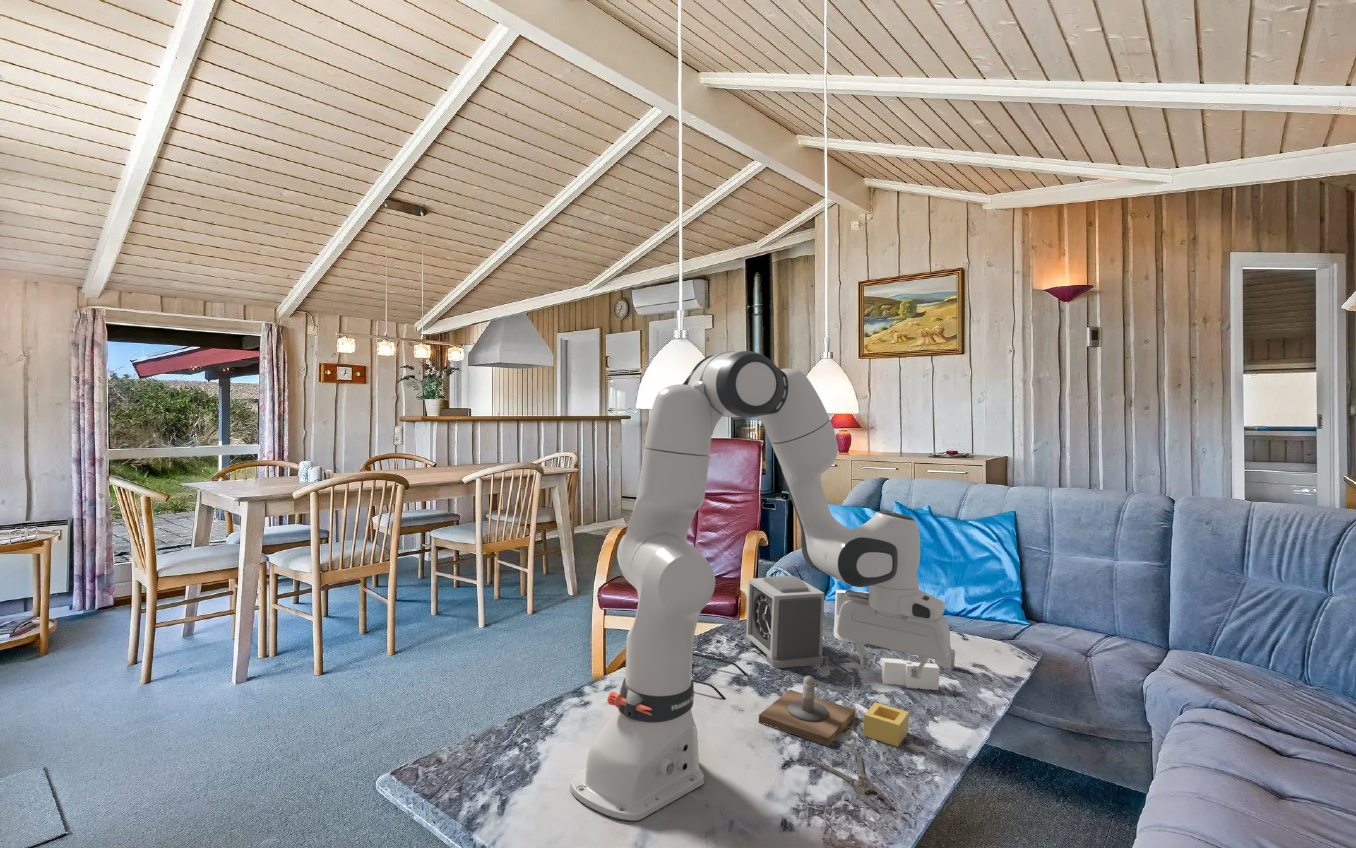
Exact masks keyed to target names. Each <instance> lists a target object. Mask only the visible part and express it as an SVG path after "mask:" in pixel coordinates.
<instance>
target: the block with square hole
mask: <svg viewBox="0 0 1356 848" xmlns="http://www.w3.org/2000/svg"><path fill="white" fill-rule="evenodd" d="M909 714H910V712H909V711H905V710H903V709H900V708H897V707H894V706H891V705H886V704H883V703H879V702H874V703H873V704H872V705H871V706H870V707H869V709H868V710H867V711H866V712H865V713H864V714H863V715H864V717H863V732H862V733H863V734H862V735H863V737H866V738H870V739H873V740H875V741H879V742H881V743H885V744H888V745H891V746H894V747H897V748H899V746H900V745H901V743H902V742H903V740H904V739H905V737H906V736H907V734H908V733H909V731H908V730H909V719H910V718H909V716H910V715H909Z"/></svg>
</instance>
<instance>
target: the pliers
mask: <svg viewBox="0 0 1356 848" xmlns="http://www.w3.org/2000/svg"><path fill="white" fill-rule="evenodd" d="M843 744H844V746H846V747H847V748H849V749H850V750H851V751H852V752H853V754H854V755H855V757H856V759H857V777H858V779H855V778H853V777H850V776H848V775H847V774H845V773H843V772H840V771H839V770H837V769H834V768H832V767H830V766H828V765H826V764H824V763H822V762H820V761H819V760H817V759H816V758H814V757H813V755H811V754H810V752H809V751H808V749H807V748H806V746H802V751H803V753H804V754H805V756H806V757H807V759H809V760H810V761H811V762H812V763H814V764H815V765H816V766H818V767H819V768H821V769H823V770H825V771H827V772H829V773H831V774H833V775H835V776H836V777H838V778H839V779H840V778H841V779H842V780H843V781H845V782H846V783H848V785H850V786H851V788H852V789H853V790H854V792H855V793H856V795H857V797H858V798H859V800H860V801H861V802H862V803H863V804H865V805H866V806H867V807H869V809H871V810H872V811H874V813H878V808H877V806H876V804H875V802H873V801H872V798H871V796H870V795H867V794H871V795H875V796H876V799H877V800H878V801H880V802H881V803H883V804H884V805H885V806H886V807H887V808H888V809H890V810H891V811H893V810H894V805H893V804H892V802H891V801H890V800H889V798H888V797H887V796H886V795H885V793H884V792H882V791H881V790H880V789H879V788H878V787H877V786H876V785H875V784H873V783H872V782H871V780H870V779H869V778H868V777H866V774H865V769H864V760H863V757H862V755H861V754H860V753H859V752H858V751H857V749H856V748H855V747H853V745H852V744H850V743H848V742H847V741H844V743H843Z"/></svg>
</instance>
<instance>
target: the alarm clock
mask: <svg viewBox="0 0 1356 848" xmlns="http://www.w3.org/2000/svg"><path fill="white" fill-rule="evenodd" d="M747 583H748V585H747V586H748V588H747V608H746V609H747V611H746V632H745V635H744V642H745V644H747V645H748V646H749V647H758V649H759V650H760V651H762V652H763V653H764V654H765V655H766V658H765V659H766V660H765V661H766V662H767V664H769V665H770V666H771V667H772V668H775V669H784V668H785V669H786V668H794V667H795V666H796V667H805V666H815V665H816V664H818V665H822V664H823V663H824V655H823V637H824V636H823V635H824V633H823V630H824V612H825V611H824V610H825V609H824V608H825V592H823V591H822V590H820V589H818V588H817V587H816V586H815V587H814V586H813V585H811V584H809V583H807V582H806V581H804V580H803V579H802V578H799V577H797V576H795V575H783V576H765V577H759V578H755V577H754V578H748V582H747ZM796 667H795V668H796Z"/></svg>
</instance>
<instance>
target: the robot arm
mask: <svg viewBox="0 0 1356 848" xmlns="http://www.w3.org/2000/svg"><path fill="white" fill-rule="evenodd" d="M723 417H725V418H758V419H759V421H760V422H761V424H762V426H764V429H765V431H766V435H767V437H768V440H769V442H770V444H771V446H772V449H773V451H774V453H775V456H776V458H777V460H778V464H779V466H780V468H781V472H782V474H783V478H784V481H785V485H786V487H787V492H788V494H789V497H790V500H791V503H792V505H793V508H794V512H795V513H796V518H797V520H798V522H799V526H800V527H799V528H800V537H801V538H800V541H801V542H800V546H801V553H802V556H803V558H804V559H803V560H805V562H806V564H807V565H808V566H809V567H810V568H812V569H813V570H815V571H818V572H821V573H823V574H825V575H826V574H827V575H828V576H830V577H832V578H833V579H836V580H837V581H840V582H842V583H844V584H845V585H849V586H851V587H856V588H863V587H864V588H865V587H868V592H869V593H864V592H865V591H861V592H856V591H857V590H852V589H847V591H844V592H842V593H841V594H840V596H839V608H840V613H839V619H838V626H837V632H838V634H839V635H840V637H841V638H845V639H849V640H853V641H855V643H854V646H855V649H856V652H857V653H858V655H859V657H860V665H861V666H865V667H870V665H871V663H872V655H871V654H868V652H867V651H866V648H865V645H871V646H875V647H879V648H883V649H888V650H893V651H897V652H901V653H905V654H909V655H914V656H918V657H917V658H918V659H917V661H918V663H920V665H919V666H913V667H912V669H911V673H912V674H911V677H912V678H916V679H920V678H921V676H922V668H923V666H924V665H925V664H926V663H928V661H929V659H931V660H934V661H935V660H938V661H943V660H944V659H945V658H947V656H948V655H949V653H950V647H951V633H950V626H949V622H948V619H947V618H946V617H945V616H944V615H943V614H944V612H945V608H946V604H945V602H944V601H943V600H942V599H939V598H938V597H935V596H933V595H931V594H930V593H927V592H925V591H923V590H922V589H919V587H920V586H919V585H920V583H919V582H920V581H919V577H918V568H919V566H920V562H921V561H920V560H921V537H920V529H919V525H918V523H917V521H916V520H915V519H914V518H913V517H911V516H909V515H906V514H903V513H898V512H894V511H889V510H877V511H876V512H875V513H874V515H873V516H872V517H871V518H870V519H869V520H867V521H866V522H865V523H863V524H862V525H860V526H858V527H854V528H849V527H846V526H845V525H843V524H841V523H840V522H839V521H838V520H837V519H835V517H834V516H833V514H832V513H831V511H830V507H829V503H828V501H827V498H826V495H825V492H824V488H823V486H822V482H821V475H822V474H823V473H825V472H827V471H828V470H829V469H830V468H831V467H832V465H833V464H834V462H835V461H836V459H837V458H838V457H837V456H838V453H839V445H838V439H837V436H836V432H835V429H834V426H833V424H832V422H831V419H830V417H829V415H828V413H827V409H826V408H825V405H824V403H823V401H822V400H821V397H820V396H819V394H818V392H817V391H816V389H815V387H814V386H813V384H812V383H811V381H810V379H809V378H808V376H807V375H806V374H805V373H804V371H801V370H799V369H796V368H789V367H788V368H779V367H778V366H777V365H776V364H775V363H774V362H773V361H772V360H771V359H770V358H768V357H767V356H765V355H763V354H761V353H759V352H756V351H751V350H741V351H734V350H731V351H730V350H729V351H723V352H720V353H716V354H712V355H709V356H706V357H705V358H703V359H701V360H700V361H699V362H698V363H697V364H696V365H695V366H694V368H693V369H692V370H691V372H689V375H688V376H687V378H686V379H685V380H684V382H682V384H672V385H670V386H669V385H668V386H666V387H664V388H662V389H661V390H660V391H659V392H658V393H657V394H656V396H655V398H654V402H653V405H652V407H651V412H650V415H649V419H648V423H647V427H646V432H645V437H644V444H643V453H642V461H641V466H640V467H641V468H640V475H639V483H638V490H637V495H636V500H635V503H634V505H633V510H632V513H631V514H630V517H629V522H628V524H627V528H626V532H625V534H624V535H623V536H622V538H621V539H620V541H619V543H618V546H617V552H616V557H617V561H618V566H619V568H620V570H621V574H622V575H623V577H624V578H625V580H626V581H627V582H628V583H629V584H630V585H632V587H633V588H634V589H635V590H636V592H637V599H638V601H637V603H638V604H637V607H636V608H637V609H636V613H635V617H634V621H633V625H632V627H631V628H630V629H629V630H628V633H627V635H626V649H625V650H626V652H625V653H626V654H625V677H624V678H623V681H622V685H621V687H620V690H619V693H617V692H616V691H613V690H612V691H610V692H609V694H608V695H607V698H606V700H607V702H606V703H608V704H607V705H611V706H615V707H616V709H615V711H614V712H613V713H612V715H611V716H610V717H609V719H608V720H607V722H606V724H605V725H604V726H603V728H602V729H601V731H600V732H599V733H598V735H597V737H596V738H595V740H594V741H593V742H592V744H591V745H590V747H589V750H588V753H587V759H586V766H584V768H583V769H582V770H580V771H579V772H578V774H576V775H575V776H574V777H573V778H572V779H571V780H570V784H569V789H570V791H571V794H572V795H573V796H574V798H576V799H577V800H578V801H580V803H582V804H584V805H585V806H587V807H589V808H591V809H592V810H595V811H597V812H599V813H601V814H603V815H606V816H608V817H612V818H615V819H619V820H625V821H640V820H642V819H644V818H646V817H648V816H650V815H651V814H653V813H654V812H656V811H658V810H660V809H662V808H665V806H667V805H669V804H670V803H672V802H675V800H677V799H680V798H681V797H683V796H685V795H686V794H689V793H690V792H692V791H693V790H695V789H698V788H699V787H701V786H703V785H704V783H705V775H704V773H703V771H702V769H700V761H699V760H700V759H699V757H700V756H699V739H698V737H699V736H698V728H697V725H696V722H695V720H694V716H693V712H692V708H693V706H694V698H695V690H694V682H693V681H692V680H693V679H692V674H693V673H692V670H693V656H694V655H693V653H694V652H693V651H694V638H695V634H696V629H697V626H698V622H699V618H700V616H701V615H700V614H701V611H702V610H703V609H704V608H705V607H706V606H707V605H708V604H709V602H710V601H711V599H712V597H713V595H714V592H715V588H716V575H715V572H714V569H713V567H712V566H711V565H710V563H709V561H708V559H706V557H705V556H704V554H703V553H702V552H701V551H700V550H699V549H698V548H696V547H695V546H694V545H692V544H690V543H688V534H689V530H690V527H691V524H692V522H693V519H694V517H695V514H696V513H697V511H698V510H699V509H700V508H701V507H702V506H703V504H704V502H705V498H706V497H705V496H706V490H707V481H708V473H709V467H710V457H711V456H710V455H711V448H712V436H713V434H714V431H715V428H716V426H717V424H718V423H719V421H720V420H721V419H722V418H723Z"/></svg>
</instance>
